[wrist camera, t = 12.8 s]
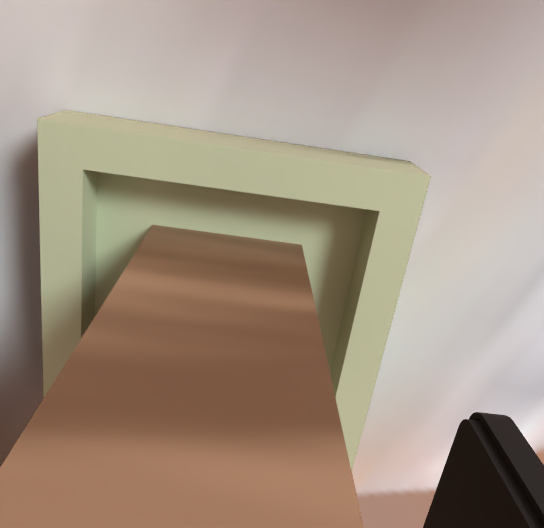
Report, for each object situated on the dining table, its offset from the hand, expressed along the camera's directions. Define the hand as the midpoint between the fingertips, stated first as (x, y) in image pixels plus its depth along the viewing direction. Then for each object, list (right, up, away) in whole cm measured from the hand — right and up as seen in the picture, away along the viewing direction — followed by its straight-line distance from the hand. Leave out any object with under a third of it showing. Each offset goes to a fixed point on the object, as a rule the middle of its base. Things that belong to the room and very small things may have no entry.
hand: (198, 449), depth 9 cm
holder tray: (0, +2, +6) cm, 6 cm away
